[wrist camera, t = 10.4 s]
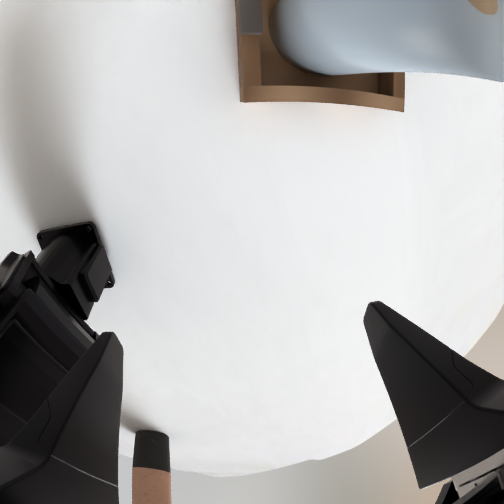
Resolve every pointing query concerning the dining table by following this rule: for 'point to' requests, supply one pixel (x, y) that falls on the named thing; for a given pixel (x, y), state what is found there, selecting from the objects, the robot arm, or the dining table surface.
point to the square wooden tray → (295, 80)
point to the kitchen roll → (391, 36)
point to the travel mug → (151, 468)
